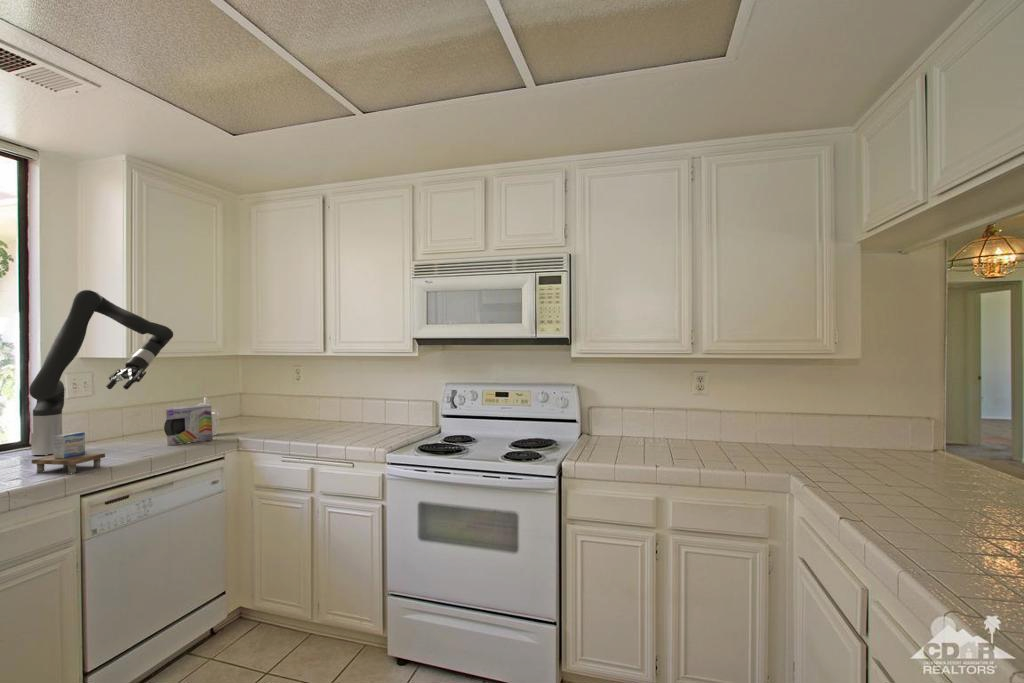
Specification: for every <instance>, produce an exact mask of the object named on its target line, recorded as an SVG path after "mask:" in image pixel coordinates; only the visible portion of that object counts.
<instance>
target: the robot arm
mask: <svg viewBox="0 0 1024 683" xmlns="http://www.w3.org/2000/svg"><path fill="white" fill-rule="evenodd" d="M95 312H96V313H98V314H101V315H104V316H105V317H108V318H109V319H112V320H113V321H115V322H117V323H118V324H119V325H122V326H123V327H125V328H128V329H130V330H132V331H134V332H136V333H138V334H140V335H146V334H148V335H151V337H150V338H149V339H148V341H146V342H145V343H144V344H143V345H141V347H140V348H139V349H138V350H137V351H136V352H135V353H134V354H133V355H132V356H131V357H130V359H128V360H127V361H126V362H125V368H123V369H120V368H117V369H115V370H114V372H112V373H111V375H110V376H109V377H108V380H109V382H108V383H107V384H106V386H105V387H106V388H107V389H108V390H111V389H113V388H114V386H115V385H116V384H117V383H118V382H121V381H122V382H123V381H124V380H127V381H126V382H125V383H124V384H123V385H122V388H123V389H124V390H129V389H130V388H131V386H132V385H133V384H135V383H139V382H140V381H142V379H143V378H144V377H145V376H146V374H147V372H146V369H147V368H148V367H149V366H150V365H151V364H152V362H153V361H154V360H155V358H156V357H157V356H158V354H160V353H161V350H163V348H164V347H165V346H166V345H167V344H168V343H169V342H170V341H171V340H172V338H173V337H174V331H173V330H172V329H171V328H169V327H167V325H163V324H160V323H158V322H157V323H156V322H152V321H149V320H148V319H146V318H144V317H142V316H140V315H138V314H136V313H133V312H131V311H128V309H127V310H126V309H125V308H122V307H120V306H118V305H116V304H115V303H113V302H111V301H110V300H108V299H107V298H105V297H104V296H102V295H101V294H100V293H99V292H97V291H95V290H92V289H82V290H78V291H77V292H76V293H75V295H74V296H73V299H72V302H71V306H70V309H69V312H68V315H67V317H66V319H65V320H64V322H63V323H62V325H61V327H59V330H58V332H57V333H56V335H55V338H54V339H53V342H52V343H51V345H50V349H49V350H48V352H47V355H46V356H45V360H44V362H43V364H42V366H41V368H40V370H39V371H38V372H37V374H36V376H35V377H34V379H33V380H32V382H31V384H30V386H29V391H28V392H29V394H30V396H31V398H33V399H34V400H36V404H35V406H34V408H33V409H32V432H31V434H30V438H31V440H30V443H31V448H30V449H31V453H30V454H33V455H45V456H49V455H48V454H52V455H54V436H58V435H63V408H64V407H65V406H64V405H65V386H64V383H63V382H62V381H61V377H62V376H63V373H64V371H65V370H66V369H67V367H68V366H69V365H70V364H71V363H72V362H73V360H74V359H75V358H76V356H77V355H78V353H79V352H80V350H81V347H82V346H83V342H84V340H85V338H86V334H87V330H88V324H90V320H91V318H92V317H93V316H94V314H95ZM33 455H32V456H33Z"/></svg>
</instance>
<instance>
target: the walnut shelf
mask: <svg viewBox="0 0 1024 683" xmlns="http://www.w3.org/2000/svg"><path fill="white" fill-rule="evenodd" d="M103 458H104V459H105V458H106V453H101V452H100V453H99V452H85V454H83V455H78V456H74V457H70V458H66V459H56V458H54V454H52V455H45V456H41V457H38V458H32V459H31V464H33V465H36V473H37V472H42V473H44V472H45V465H53V466H54V465H55V466H56V465H58V466H59V465H61V466H62V467H63V466H65V467H68V475H72V474H71V473H74V474H76V473H77V465H79V464H82V463H83V464H84V463H86V462H91V461H92V462H93V468H94V467H97V468H101V459H103ZM67 465H68V466H67ZM43 471H44V472H43ZM75 472H76V473H75Z"/></svg>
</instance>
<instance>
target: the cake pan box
mask: <svg viewBox="0 0 1024 683" xmlns="http://www.w3.org/2000/svg"><path fill="white" fill-rule="evenodd" d="M211 409H212V405H211V404H209V405H204V404H200V405H188V406H187V405H186V406H185V405H184V406H176V407H174V406H173V407H167V408H166V409H165V413H166V415H165V416H166V418H165V419H166V420H165V422H164V426H163V429H164V430H163V431H164V433H165V435H166V442H167V446H168V445H169V446H172V445H171V444H178V445H180V444H179V443H186V444H189V443H188V442H194V443H198V442H197V441H202V442H206V441H205V440H210V441H213V440H214V438H213V437H214V436H213V435H212V410H211Z"/></svg>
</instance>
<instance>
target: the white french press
mask: <svg viewBox="0 0 1024 683" xmlns="http://www.w3.org/2000/svg"><path fill="white" fill-rule="evenodd" d="M199 405H210V401H209V398H208V397H207V396H206V397H203V403H202V402H201V403H199V404H197V406H199ZM212 411H214V412H212ZM215 411H216V412H215ZM211 412H212V435H213V437H214V435H215V436H217V435H218V434H217V426H220V412H219V410H216V409H212V408H211Z"/></svg>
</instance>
